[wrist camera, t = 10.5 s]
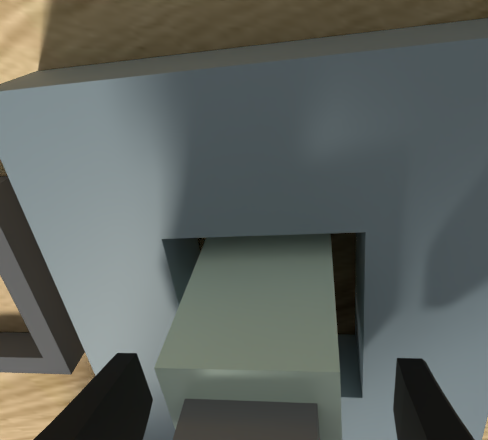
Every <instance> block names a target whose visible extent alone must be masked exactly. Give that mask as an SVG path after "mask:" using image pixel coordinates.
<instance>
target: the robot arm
mask: <svg viewBox="0 0 488 440" xmlns="http://www.w3.org/2000/svg"><path fill="white" fill-rule="evenodd" d="M152 402H153V398H152V395H151V392H150V389H149V386H148V384H147V381H146V378H145V375H144V372H143V369H142V367H141V364H140V361H139V358H138V355H137V353H117V354H116V355H115V356H114V357H113V358H112V359H111V360H110V361H109V362H108V363H107V364H106V365H105V366H104V367H103V368H102V370H101V371H100V372H99V373H98V374H97V375H96V376H95V377H94V378H93V379H92V380H91V381H90V382H89V384H88V385H87V386H86V387H85V388H84V389H83V390H82V391H81V392H80V393H79V394H78V395H77V396H76V397H75V398H74V399H73V400H72V402H71V403H70V404H69V405H68V406H67V407H66V408H65V409H64V410H63V411H62V412H61V413H60V414H59V415H58V416H57V417H56V418H55V419H54V420H53V421H52V422H51V423H50V424H49V425H48V426H47V427H46V428H45V429H44V430H43V431H42V432H41V433H40V434H39V435H38V436H37V437H36V438H35V439H34V440H143V437H144V434H145V430H146V427H147V423H148V419H149V415H150V411H151V406H152ZM393 412H394V420H395V427H396V434H397V440H475V439H474V438H473V436H472V435H471V434H470V432H469V431H468V429H467V428H466V426H465V425H464V424H463V422H462V421H461V419H460V418H459V416H458V415H457V413H456V412H455V410H454V409H453V407H452V405H451V404H450V402H449V401H448V399H447V398H446V396H445V394H444V393H443V391H442V389H441V388H440V386H439V384H438V383H437V381H436V379H435V378H434V376H433V374H432V372H431V371H430V369H429V367H428V365H427V363H426V362H425V361H424V360H423V359H422V358H397V362H396V376H395V389H394V403H393Z"/></svg>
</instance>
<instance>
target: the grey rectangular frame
mask: <svg viewBox="0 0 488 440" xmlns="http://www.w3.org/2000/svg"><path fill="white" fill-rule="evenodd" d="M0 275H1V277H2V279H3V281H4V283H5V285H6V287H7V289H8V291H9V293H10V295H11V297H12V299H13V301H14V302H15V304H16V306H17V308H18V310H19V312H20V314H21V316H22V318H23V320H24V322H25V324H26V326H27V328H28V330H29V332H30V333H10V332H0V372H12V373H44V374H72V372H73V371H74V369H75V367H76V366H77V364H78V362H79V361H80V359H81V357H82V356H83V354H84V352H85V351H84V348H83V346H82V344H81V341H80V339H79V337H78V335H77V332H76V330H75V328H74V326H73V323H72V321H71V319H70V316H69V314H68V312H67V310H66V307H65V305H64V303H63V300H62V298H61V296H60V294H59V291H58V289H57V287H56V285H55V282H54V280H53V278H52V275H51V273H50V271H49V269H48V266H47V264H46V262H45V260H44V257H43V255H42V253H41V250H40V248H39V246H38V244H37V241H36V239H35V237H34V235H33V232H32V230H31V228H30V225H29V223H28V221H27V219H26V216H25V214H24V212H23V210H22V207H21V205H20V203H19V200H18V198H17V196H16V194H15V191H14V189H13V187H12V185H11V182H10V180H9V178H8V176H2V177H0Z"/></svg>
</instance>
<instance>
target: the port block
mask: <svg viewBox="0 0 488 440" xmlns="http://www.w3.org/2000/svg"><path fill="white" fill-rule="evenodd" d="M0 159H1V162H2V164H3V166H4V169H5V171H6V173H7V175H8V178H9V180H10V182H11V185H12V187H13V189H14V191H15V194H16V196H17V198H18V200H19V203H20V205H21V207H22V210H23V212H24V214H25V216H26V219H27V221H28V223H29V225H30V228H31V230H32V232H33V235H34V237H35V239H36V241H37V244H38V246H39V248H40V250H41V253H42V255H43V257H44V260H45V262H46V264H47V266H48V269H49V271H50V273H51V275H52V278H53V280H54V282H55V285H56V287H57V289H58V291H59V294H60V296H61V298H62V300H63V303H64V305H65V307H66V310H67V312H68V314H69V316H70V319H71V321H72V323H73V326H74V328H75V330H76V332H77V335H78V337H79V339H80V341H81V344H82V346H83V348H84V351H85V353H86V355H87V357H88V360H89V362H90V364H91V366H92V369H93V371H94V373H95V376H96V375H97V374H98V373H99V372H100V371H101V370H102V368H103V367H104V366H105V365H106V364H107V363H108V362H109V361H110V360H111V359H112V358H113V357H114V356H115V355H116V354H117V353H137V355H138V358H139V361H140V364H141V367H142V369H143V372H144V375H145V378H146V381H147V384H148V386H149V389H150V392H151V395H152V398H153V402H152V406H151V411H150V415H149V419H148V423H147V427H146V430H145V434H144V437H143V440H173V436H174V433H175V428H174V425H173V422H172V419H171V416H170V413H169V410H168V407H167V404H166V401H165V398H164V396H163V393H162V390H161V387H160V384H159V381H158V378H157V375H156V372H155V369H154V367H155V364H156V362H157V359H158V357H159V354H160V352H161V349H162V347H163V344H164V342H165V339H166V337H167V334H168V332H169V329H170V327H171V324H172V322H173V319H174V317H175V314H176V312H177V309H178V307H179V304H180V302H181V299H182V297H183V295H184V292H185V290H186V287H187V285H188V282H189V280H190V277H191V275H192V272H193V270H194V267H195V265H196V262H197V260H198V257H199V255H200V249H199V245H198V240H197V238H207V237H238V236H268V235H298V234H329V233H356V240H355V335H350V334H338V348H339V363H340V384H341V418H342V440H397V434H396V427H395V420H394V412H393V403H394V389H395V376H396V362H397V358H422V359H423V360H424V361H425V362H426V363H427V365H428V367H429V369H430V371H431V372H432V374H433V376H434V378H435V379H436V381H437V383H438V384H439V386H440V388H441V389H442V391H443V393H444V394H445V396H446V398H447V399H448V401H449V402H450V404H451V405H452V407H453V409H454V410H455V412H456V413H457V415H458V416H459V418H460V419H461V421H462V422H463V424H464V425H465V426H466V428H467V429H468V431H469V432H470V434H471V435H472V436H473V438H474V439H475V440H482V437H483V433H484V429H485V425H486V421H487V417H488V18H484V19H475V20H467V21H458V22H450V23H441V24H433V25H424V26H416V27H407V28H399V29H390V30H382V31H373V32H365V33H356V34H348V35H339V36H331V37H322V38H314V39H305V40H297V41H288V42H280V43H271V44H263V45H254V46H246V47H237V48H229V49H220V50H212V51H203V52H195V53H186V54H178V55H169V56H161V57H152V58H144V59H135V60H127V61H118V62H110V63H101V64H93V65H84V66H76V67H67V68H59V69H50V70H42V71H36V72H33V73H30V74H27V75H25V76H22V77H19V78H16V79H13V80H11V81H8V82H5V83H2V84H0Z"/></svg>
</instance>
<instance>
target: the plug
mask: <svg viewBox="0 0 488 440" xmlns="http://www.w3.org/2000/svg"><path fill="white" fill-rule="evenodd" d="M154 369H155V372H156V375H157V378H158V381H159V384H160V387H161V390H162V393H163V396H164V398H165V401H166V404H167V407H168V410H169V413H170V416H171V419H172V422H173V425H174V428H175V433H174V436H173V440H342V418H341V384H340V363H339V348H338V334H337V319H336V305H335V290H334V276H333V261H332V247H331V233H329V234H298V235H268V236H238V237H207V238H206V240H205V242H204V245H203V247H202V250H201V252H200V255H199V257H198V260H197V262H196V265H195V267H194V270H193V272H192V275H191V277H190V280H189V282H188V285H187V287H186V290H185V292H184V295H183V297H182V299H181V302H180V304H179V307H178V309H177V312H176V314H175V317H174V319H173V322H172V324H171V327H170V329H169V332H168V334H167V337H166V339H165V342H164V344H163V347H162V349H161V352H160V354H159V357H158V359H157V362H156V364H155V367H154Z"/></svg>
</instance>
